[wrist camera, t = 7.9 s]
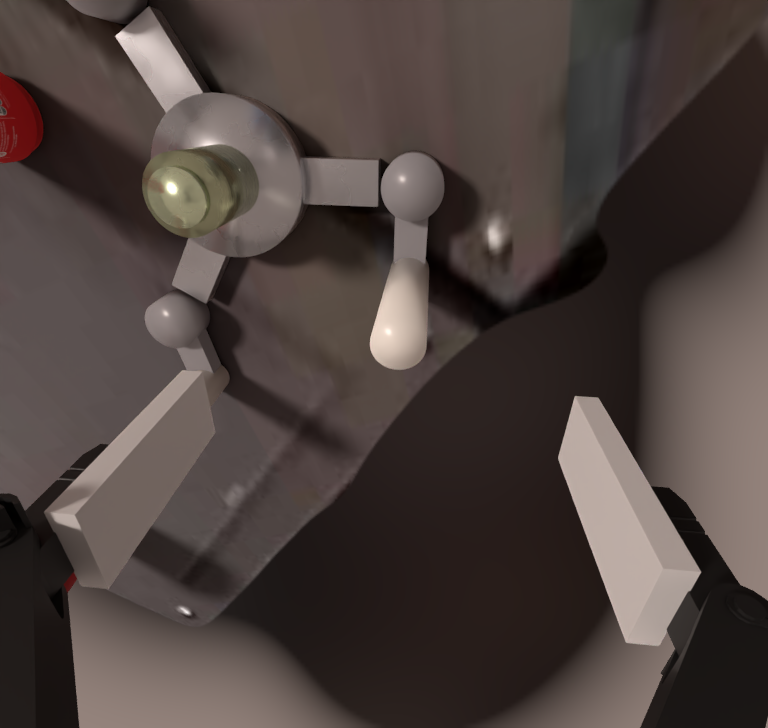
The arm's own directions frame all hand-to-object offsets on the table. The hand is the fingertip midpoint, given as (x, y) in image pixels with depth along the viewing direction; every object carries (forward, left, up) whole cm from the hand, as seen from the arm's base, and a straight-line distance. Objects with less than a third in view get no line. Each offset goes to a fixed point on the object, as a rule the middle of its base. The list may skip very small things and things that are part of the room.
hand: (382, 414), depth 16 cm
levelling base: (+7, -12, -16) cm, 21 cm away
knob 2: (-2, -3, -16) cm, 17 cm away
